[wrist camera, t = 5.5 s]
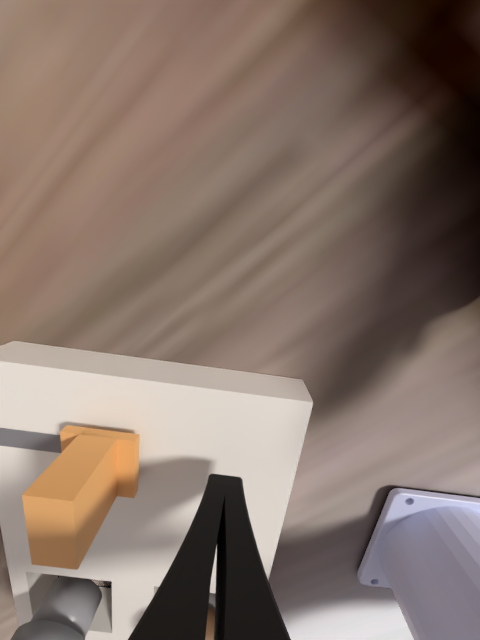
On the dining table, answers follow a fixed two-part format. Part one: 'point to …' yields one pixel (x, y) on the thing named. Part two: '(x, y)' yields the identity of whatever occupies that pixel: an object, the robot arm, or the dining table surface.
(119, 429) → the panel
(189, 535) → the robot arm
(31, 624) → the grey push button
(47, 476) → the slider handle
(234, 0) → the dining table surface
